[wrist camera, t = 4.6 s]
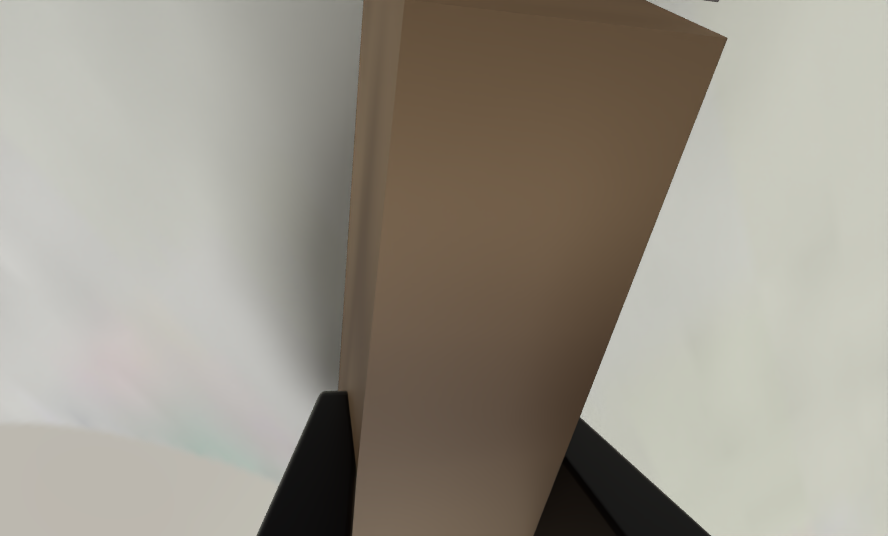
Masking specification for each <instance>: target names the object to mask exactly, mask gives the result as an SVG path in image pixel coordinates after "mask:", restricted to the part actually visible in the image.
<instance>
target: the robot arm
mask: <svg viewBox="0 0 888 536" xmlns="http://www.w3.org/2000/svg"><path fill="white" fill-rule="evenodd" d="M356 479H357V473H356V462H355V452H354V443H353V435H352V426H351V418H350V409H349V401H348V393H347V391H324V392H322V393H321V394H320V395H319V397H318V399H317V401H316V403H315V406H314V408H313V410H312V412H311V415H310V417H309V419H308V421H307V424H306V426H305V428H304V430H303V433H302V435H301V437H300V439H299V442H298V444H297V446H296V448H295V451H294V453H293V455H292V457H291V459H290V462H289V464H288V466H287V468H286V471H285V473H284V475H283V477H282V480H281V482H280V484H279V486H278V489H277V491H276V493H275V496H274V498H273V500H272V502H271V505H270V507H269V509H268V511H267V513H266V516H265V518H264V520H263V522H262V525H261V527H260V529H259V532H258V534H257V536H352V533H353V519H354V506H355V492H356ZM533 536H711V535H710V534H709V533H707V532H706V531H705V530H704V529H703V528H702V527H701V526H700V525H699V524H698V523H696V522H695V521H694V520H693V519H692V518H691V517H690V516H689V515H688V514H686V513H685V512H684V511H683V510H682V509H681V508H680V507H679V506H678V505H677V504H675V503H674V502H673V501H672V500H671V499H670V498H669V497H668V496H667V495H665V494H664V493H663V492H662V491H661V490H660V489H659V488H658V487H657V486H656V485H654V484H653V483H652V482H651V481H650V480H649V479H648V478H647V477H646V476H644V475H643V474H642V473H641V472H640V471H639V470H638V469H637V468H636V467H635V466H633V465H632V464H631V463H630V462H629V461H628V460H627V459H626V458H625V457H623V456H622V455H621V454H620V453H619V452H618V451H617V450H616V449H615V448H613V447H612V446H611V445H610V444H609V443H608V442H607V441H606V440H605V439H604V438H602V437H601V436H600V435H599V434H598V433H597V432H596V431H595V430H594V429H592V428H591V427H590V426H589V425H588V424H587V423H586V422H585V421H584V420H583V419H581V418H580V417H579V420H578V423H577V425H576V428H575V430H574V433H573V435H572V438H571V441H570V443H569V446H568V448H567V451H566V453H565V456H564V458H563V461H562V463H561V466H560V469H559V471H558V474H557V476H556V479H555V481H554V484H553V486H552V489H551V492H550V494H549V497H548V499H547V502H546V504H545V507H544V510H543V512H542V515H541V517H540V520H539V522H538V525H537V528H536V530H535V533H534V535H533Z"/></svg>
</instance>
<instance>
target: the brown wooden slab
mask: <svg viewBox="0 0 888 536" xmlns="http://www.w3.org/2000/svg"><path fill="white" fill-rule="evenodd" d="M706 1H713V2H718V1H719V0H706ZM726 41H727V38H726V37H724V36H722V35H720V34H718V33H715V32H713V31H711V30H709V29H707V28H705V27H702V26H700V25H698V24H696V23H694V22H691V21H689V20H687V19H685V18H683V17H681V16H678V15H676V14H674V13H672V12H670V11H667V10H665V9H663V8H661V7H659V6H657V5H654V4H652V3H650V2H648V1H646V0H363V16H362V31H361V46H360V62H359V77H358V92H357V107H356V123H355V138H354V153H353V169H352V184H351V199H350V215H349V230H348V245H347V261H346V276H345V291H344V306H343V322H342V337H341V352H340V368H339V383H338V391H347V393H348V401H349V409H350V418H351V426H352V435H353V443H354V452H355V462H356V473H357V479H356V492H355V506H354V519H353V533H352V536H533V535H534V533H535V530H536V528H537V525H538V522H539V520H540V517H541V515H542V512H543V510H544V507H545V504H546V502H547V499H548V497H549V494H550V492H551V489H552V486H553V484H554V481H555V479H556V476H557V474H558V471H559V469H560V466H561V463H562V461H563V458H564V456H565V453H566V451H567V448H568V446H569V443H570V441H571V438H572V435H573V433H574V430H575V428H576V425H577V423H578V420H579V417H580V415H581V412H582V410H583V407H584V405H585V402H586V399H587V397H588V394H589V392H590V389H591V387H592V384H593V382H594V379H595V376H596V374H597V371H598V369H599V366H600V364H601V361H602V358H603V356H604V353H605V351H606V348H607V346H608V343H609V341H610V338H611V335H612V333H613V330H614V328H615V325H616V323H617V320H618V317H619V315H620V312H621V310H622V307H623V305H624V302H625V300H626V297H627V294H628V292H629V289H630V287H631V284H632V282H633V279H634V276H635V274H636V271H637V269H638V266H639V264H640V261H641V258H642V256H643V253H644V251H645V248H646V246H647V243H648V241H649V238H650V235H651V233H652V230H653V228H654V225H655V223H656V220H657V217H658V215H659V212H660V210H661V207H662V205H663V202H664V200H665V197H666V194H667V192H668V189H669V187H670V184H671V182H672V179H673V176H674V174H675V171H676V169H677V166H678V164H679V161H680V159H681V156H682V153H683V151H684V148H685V146H686V143H687V141H688V138H689V135H690V133H691V130H692V128H693V125H694V123H695V120H696V118H697V115H698V112H699V110H700V107H701V105H702V102H703V100H704V97H705V94H706V92H707V89H708V87H709V84H710V82H711V79H712V76H713V74H714V71H715V69H716V66H717V64H718V61H719V59H720V56H721V53H722V51H723V48H724V46H725V43H726Z"/></svg>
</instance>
